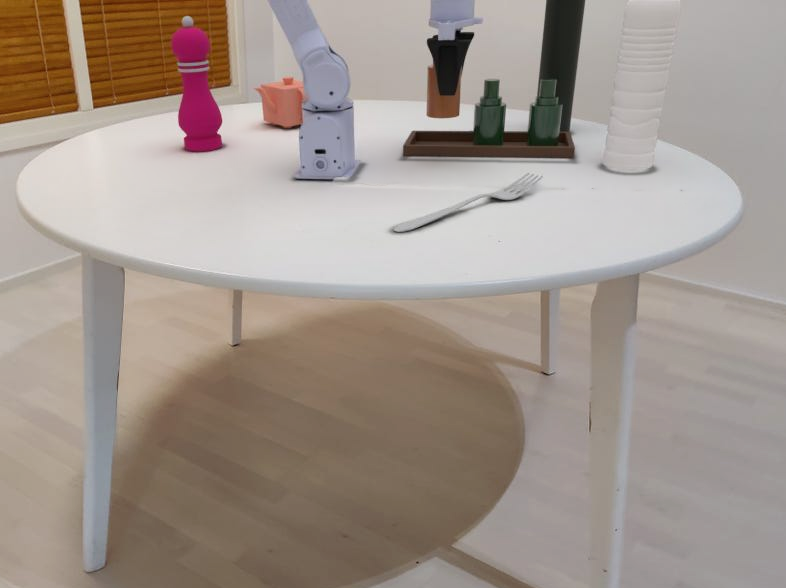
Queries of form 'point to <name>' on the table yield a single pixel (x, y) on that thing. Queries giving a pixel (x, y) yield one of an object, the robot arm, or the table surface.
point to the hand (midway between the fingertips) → (449, 92)
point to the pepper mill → (196, 89)
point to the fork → (500, 195)
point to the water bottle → (640, 83)
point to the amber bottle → (441, 98)
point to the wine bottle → (562, 51)
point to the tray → (463, 145)
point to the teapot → (283, 102)
